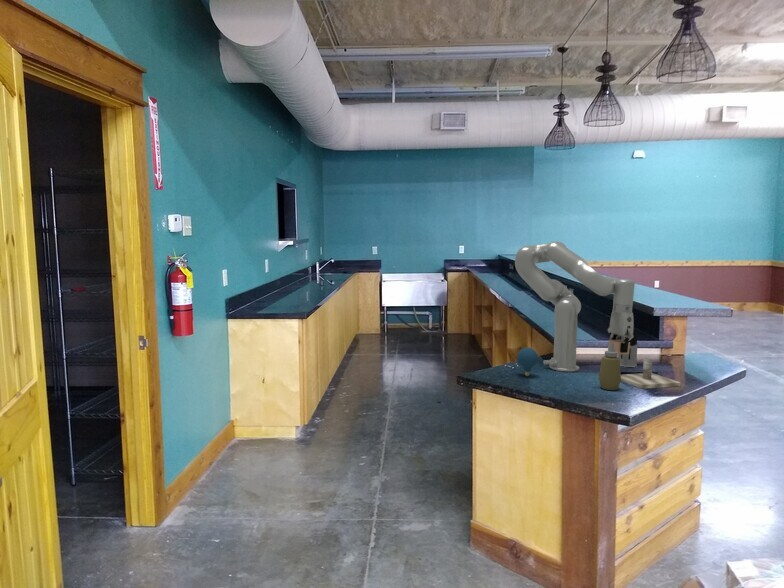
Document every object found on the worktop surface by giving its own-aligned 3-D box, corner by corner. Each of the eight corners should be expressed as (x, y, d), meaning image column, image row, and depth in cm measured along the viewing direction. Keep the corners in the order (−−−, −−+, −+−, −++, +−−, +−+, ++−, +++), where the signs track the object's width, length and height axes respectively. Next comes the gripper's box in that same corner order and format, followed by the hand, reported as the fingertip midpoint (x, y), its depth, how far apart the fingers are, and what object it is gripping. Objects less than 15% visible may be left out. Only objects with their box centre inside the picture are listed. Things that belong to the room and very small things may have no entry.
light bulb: (539, 375, 230) (540, 346, 229) (535, 379, 223) (536, 350, 222) (519, 372, 234) (520, 345, 233) (514, 377, 226) (515, 348, 225)
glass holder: (639, 365, 252) (641, 333, 250) (632, 371, 240) (634, 337, 239) (619, 362, 257) (620, 330, 255) (611, 368, 245) (613, 334, 244)
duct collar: (616, 354, 228) (617, 342, 228) (607, 351, 234) (608, 339, 234) (629, 354, 230) (630, 342, 229) (619, 351, 236) (620, 339, 235)
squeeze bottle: (618, 392, 205) (621, 345, 203) (596, 389, 209) (598, 342, 208) (622, 387, 212) (624, 341, 210) (600, 384, 216) (602, 339, 215)
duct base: (641, 388, 211) (642, 364, 210) (614, 378, 226) (615, 355, 225) (680, 386, 215) (681, 362, 214) (651, 376, 231) (652, 354, 230)
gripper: (644, 311, 223) (639, 355, 225) (616, 305, 239) (613, 346, 241) (628, 311, 221) (624, 355, 223) (602, 305, 237) (598, 346, 239)
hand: (618, 350), depth 232 cm, fingers closed on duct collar, 6 cm apart
